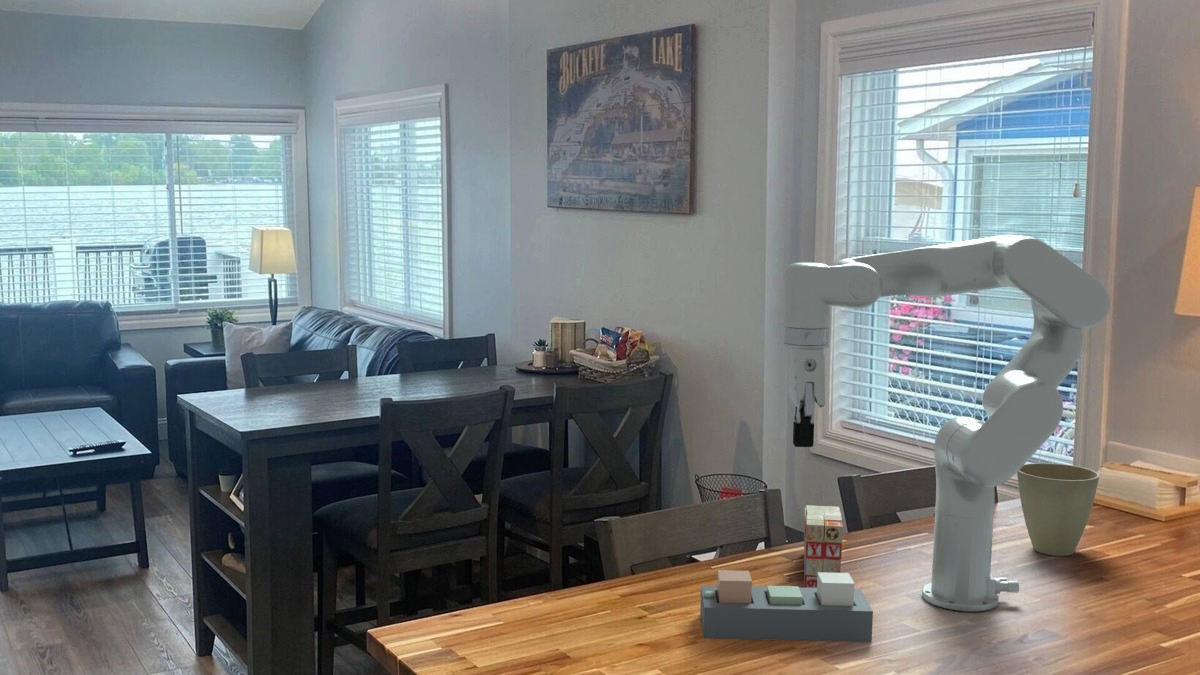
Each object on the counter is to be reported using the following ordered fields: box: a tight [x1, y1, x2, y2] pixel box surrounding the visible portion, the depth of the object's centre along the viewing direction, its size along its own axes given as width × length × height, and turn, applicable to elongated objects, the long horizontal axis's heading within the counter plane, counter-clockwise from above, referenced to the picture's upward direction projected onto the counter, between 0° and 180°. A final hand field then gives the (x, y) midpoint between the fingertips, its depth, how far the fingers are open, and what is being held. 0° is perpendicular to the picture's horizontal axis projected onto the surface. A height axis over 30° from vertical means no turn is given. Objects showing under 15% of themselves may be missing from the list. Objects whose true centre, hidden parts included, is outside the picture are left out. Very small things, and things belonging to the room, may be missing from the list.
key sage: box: [766, 585, 803, 605], centre depth 183 cm, size 5×5×5 cm
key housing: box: [699, 585, 874, 643], centre depth 183 cm, size 26×10×6 cm, turn 88°
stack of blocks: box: [803, 504, 844, 588], centre depth 210 cm, size 21×6×12 cm, turn 171°
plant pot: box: [1016, 462, 1100, 557], centre depth 224 cm, size 15×15×16 cm
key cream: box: [817, 572, 855, 606], centre depth 182 cm, size 5×5×5 cm
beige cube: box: [716, 569, 753, 604], centre depth 183 cm, size 5×5×5 cm
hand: (803, 445), depth 193 cm, fingers closed
